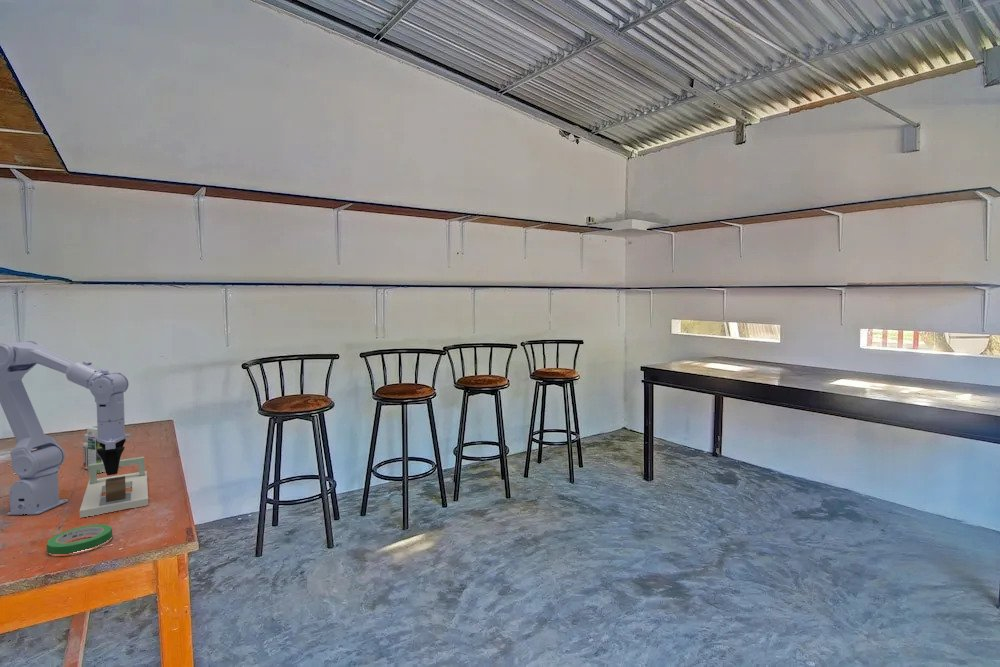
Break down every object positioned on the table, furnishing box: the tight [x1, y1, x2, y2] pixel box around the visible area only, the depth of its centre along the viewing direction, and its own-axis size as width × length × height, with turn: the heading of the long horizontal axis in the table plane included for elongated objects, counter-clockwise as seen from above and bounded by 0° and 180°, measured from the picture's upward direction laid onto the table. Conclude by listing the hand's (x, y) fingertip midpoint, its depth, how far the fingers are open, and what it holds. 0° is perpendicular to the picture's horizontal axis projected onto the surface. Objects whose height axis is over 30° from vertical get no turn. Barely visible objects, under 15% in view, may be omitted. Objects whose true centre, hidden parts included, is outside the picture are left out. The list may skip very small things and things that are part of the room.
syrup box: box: [86, 425, 106, 474], centre depth 167 cm, size 6×6×14 cm
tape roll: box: [46, 523, 113, 554], centre depth 112 cm, size 11×11×3 cm
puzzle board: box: [79, 470, 149, 519], centre depth 143 cm, size 30×14×2 cm, turn 35°
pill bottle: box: [82, 433, 88, 470], centre depth 170 cm, size 6×6×11 cm
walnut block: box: [105, 476, 127, 502], centre depth 134 cm, size 4×4×5 cm
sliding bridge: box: [88, 456, 146, 483], centre depth 151 cm, size 2×13×5 cm, turn 125°
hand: (112, 470), depth 135 cm, fingers open, 7 cm apart
